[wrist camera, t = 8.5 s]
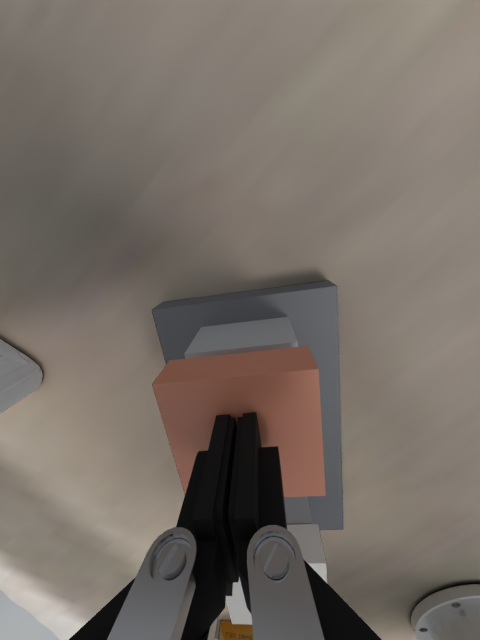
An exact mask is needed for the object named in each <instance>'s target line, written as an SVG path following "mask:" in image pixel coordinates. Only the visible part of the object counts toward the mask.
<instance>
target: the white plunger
mask: <svg viewBox="0 0 480 640" xmlns="http://www.w3.org/2000/svg"><path fill="white" fill-rule="evenodd" d="M287 530H288V531H289V532H291V533H292V535H293V536H294V537H295V538H296V540H297V542H298V544H299V547H300V549H301V553H302V556H303V559H304V560H305V561H306V562H307V563H308V564H309V565H310V566H311V567H312V568H313V569H314V570H315V571H316V572H317V573H318V574H319V575H320V577H321V578H322V579H323V580H324V581H325V582H326V583H327V571H326V561H325V556H324V551H323V546H322V541H321V537H320V532H319V527H318V524H298V525H287ZM226 604H227V607H228V611H229V615H230V618H231V622H232V624H250V625H252V615H251V613H250V612H249V610H248V609H247V606H246V602H245V598H244V594H243V590H242V586H241V581H240V577H239V581H238V582H233V590H232V596H226Z"/></svg>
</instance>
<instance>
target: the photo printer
mask: <svg viewBox="0 0 480 640" xmlns="http://www.w3.org/2000/svg"><path fill="white" fill-rule="evenodd" d="M42 379H43V374H42V370H41V369H40V367H39V366H38V365H37V364H36V363H35V362H34V361H33V360H31V359H30V358H29V357H27V356H26V355H24V354H23V353H21V352H20V351H18V350H16V349H15V348H13V347H12V346H10V345H9V344H7V343H6V342H4V341H3V340H1V339H0V414H1V413H2V412H3V411H5V410H6V409H8V408H9V407H11V406H12V405H14V404H15V403H17V402H18V401H20V400H21V399H23V398H24V397H26V396H27V395H29V394H30V393H32V392H33V391H35V390H36V389H37V388H38V387H39V386H40V385H41V383H42Z"/></svg>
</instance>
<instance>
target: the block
mask: <svg viewBox="0 0 480 640" xmlns="http://www.w3.org/2000/svg"><path fill="white" fill-rule="evenodd" d="M152 314H153V317H154V321H155V325H156V328H157V332H158V336H159V339H160V343H161V347H162V350H163V354H164V358H165V361H166V364H167V363H168V362H169V360H177V359H187V358H196V357H206V356H216V355H225V354H235V353H245V352H254V351H264V350H273V349H283V348H293V347H302V346H308V347H309V349H310V351H311V353H312V356H313V358H314V360H315V362H316V364H317V367H318V369H319V385H320V403H321V421H322V439H323V456H324V474H325V492H326V496H305V497H284V502H285V512H286V522H287V525H298V524H318V527H319V530H341V529H343V491H342V453H341V415H340V376H339V338H338V300H337V286H336V285H335V284H333V283H332V282H330V281H320V282H313V283H305V284H297V285H290V286H282V287H275V288H267V289H260V290H252V291H245V292H237V293H230V294H222V295H214V296H207V297H199V298H192V299H184V300H177V301H169V302H162V303H161V304H159V305H158V306H157V307H155V308H154V309H152Z"/></svg>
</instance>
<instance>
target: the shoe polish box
mask: <svg viewBox="0 0 480 640" xmlns="http://www.w3.org/2000/svg"><path fill="white" fill-rule="evenodd" d="M219 640H254V638H253V627H252V625H250V624H232V622H231V621H226V620H220V630H219Z"/></svg>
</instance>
